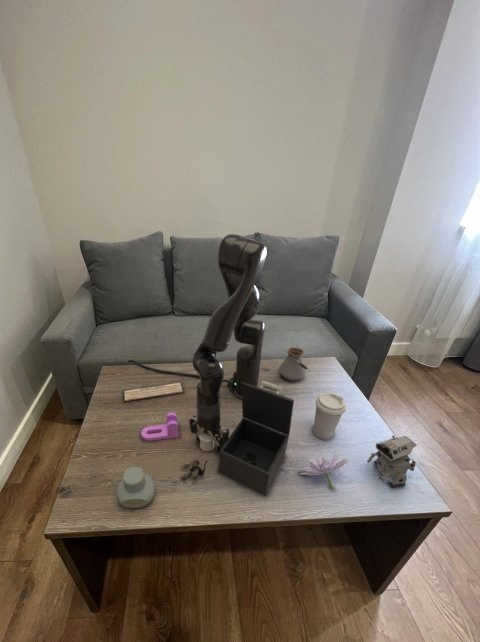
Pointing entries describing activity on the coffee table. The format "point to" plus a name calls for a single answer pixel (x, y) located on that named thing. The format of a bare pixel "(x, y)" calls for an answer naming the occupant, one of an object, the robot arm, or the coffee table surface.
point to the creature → (194, 469)
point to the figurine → (394, 459)
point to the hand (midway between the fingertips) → (209, 446)
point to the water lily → (324, 467)
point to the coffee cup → (328, 414)
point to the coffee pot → (293, 365)
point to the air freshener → (135, 488)
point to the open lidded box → (258, 442)
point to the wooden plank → (152, 391)
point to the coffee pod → (206, 442)
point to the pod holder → (250, 458)
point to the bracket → (162, 429)
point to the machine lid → (267, 406)
